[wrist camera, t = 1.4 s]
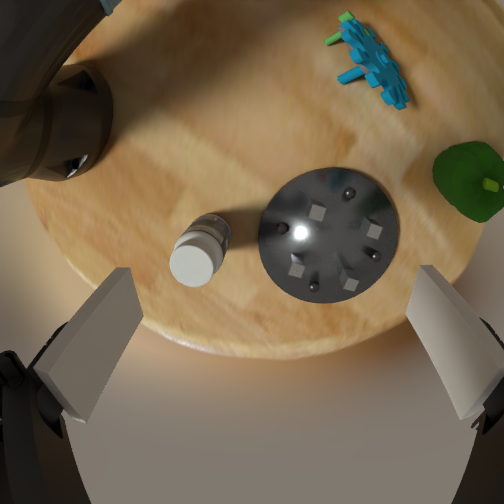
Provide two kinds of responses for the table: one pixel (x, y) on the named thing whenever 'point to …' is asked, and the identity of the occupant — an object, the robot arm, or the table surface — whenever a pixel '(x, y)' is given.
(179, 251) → the pill bottle
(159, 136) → the table surface
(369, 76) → the gear
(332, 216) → the hub
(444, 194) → the bell pepper
